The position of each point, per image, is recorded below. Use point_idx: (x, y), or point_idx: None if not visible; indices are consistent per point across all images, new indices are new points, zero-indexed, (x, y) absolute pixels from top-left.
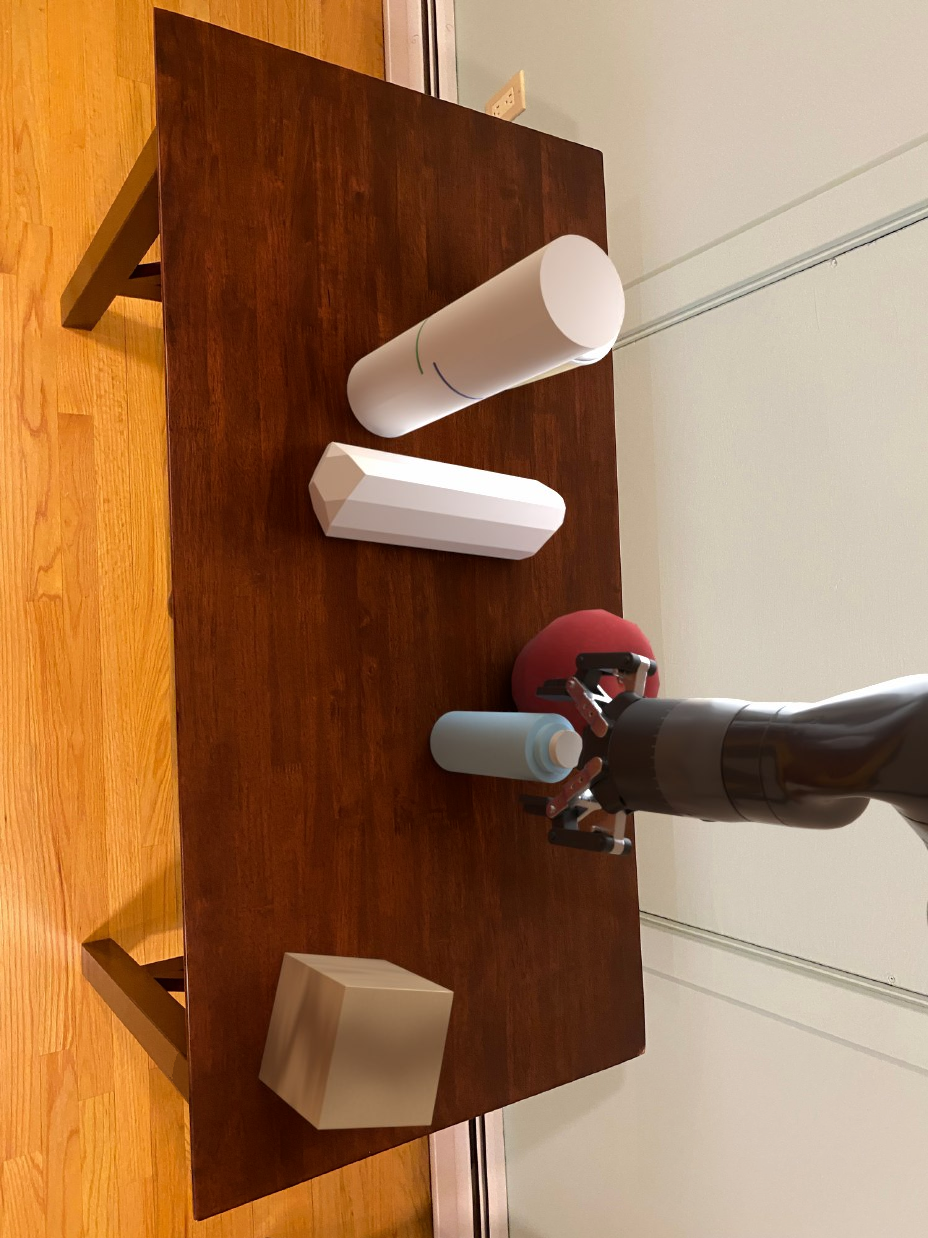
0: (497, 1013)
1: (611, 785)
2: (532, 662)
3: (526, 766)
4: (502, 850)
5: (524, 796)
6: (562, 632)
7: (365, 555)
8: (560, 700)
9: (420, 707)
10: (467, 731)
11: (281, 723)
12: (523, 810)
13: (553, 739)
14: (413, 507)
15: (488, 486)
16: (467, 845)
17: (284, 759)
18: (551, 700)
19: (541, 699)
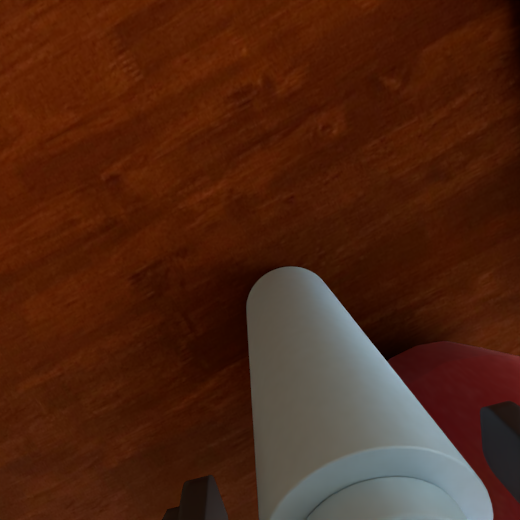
0: (4, 511)
1: None
2: (483, 365)
3: (281, 485)
4: (188, 433)
5: (199, 504)
6: None
7: (489, 30)
8: (516, 490)
9: (309, 234)
10: (306, 300)
11: (181, 10)
12: (167, 512)
13: None
14: None
15: None
16: (169, 385)
17: (134, 45)
18: (484, 454)
19: (435, 414)
